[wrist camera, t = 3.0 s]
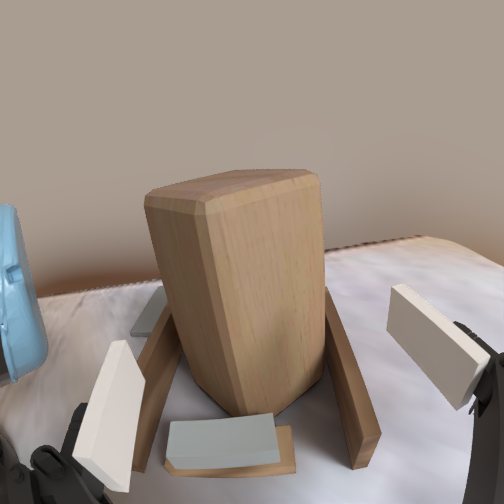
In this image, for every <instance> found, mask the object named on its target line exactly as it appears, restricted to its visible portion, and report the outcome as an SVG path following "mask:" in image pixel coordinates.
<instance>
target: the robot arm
mask: <svg viewBox="0 0 504 504" xmlns="http://www.w3.org/2000/svg"><path fill="white" fill-rule="evenodd" d="M386 330H387V331H388V333H389V334H390V335H391V336H392V337H393V338H394V339H395V340H396V341H397V342H398V344H399V345H400V346H401V347H402V348H403V349H404V350H405V351H406V353H407V354H408V355H409V356H410V357H411V358H412V359H413V360H414V362H415V363H416V364H417V365H418V366H419V367H420V368H421V370H422V371H423V372H424V373H425V374H426V375H427V377H428V378H429V379H430V380H431V381H432V382H433V384H434V385H435V386H436V387H437V388H438V389H439V391H440V392H441V393H442V394H443V395H444V397H445V398H446V399H447V400H448V401H449V403H450V404H451V405H452V406H453V408H454V409H455V410H456V411H457V410H458V409H460V408H461V407H463V406H464V405H466V404H467V403H468V402H469V400H470V399H471V397H472V395H473V394H474V395H475V396H476V397H477V398H476V399H475V401H474V403H473V405H472V407H471V408H470V410H469V413H468V414H471V413H472V411H473V409H474V414H473V415H474V428H473V441H472V451H471V459H470V466H469V473H468V479H467V484H466V489H465V494H464V499H463V503H462V504H504V352H503V353H500V354H498V353H497V352H496V351H494V350H493V349H492V348H491V347H490V346H489V345H488V344H486V343H485V342H484V341H483V340H482V339H481V338H479V337H477V335H476V334H475V333H472V331H471V330H470V329H469V328H467V327H466V326H465V325H463V324H461V323H458V322H456V321H455V322H453V323H452V322H451V321H450V320H449V319H447V318H446V317H445V316H444V315H443V314H441V313H440V312H439V311H438V310H436V309H435V308H434V307H433V306H431V305H430V304H429V303H428V302H426V301H425V300H424V299H423V298H421V297H420V296H419V295H418V294H416V293H415V292H414V291H412V290H411V289H410V288H409V287H407V286H406V285H405V284H403V283H402V284H399V285H395V286H392V287H391V296H390V306H389V314H388V322H387V329H386ZM47 353H48V339H47V335H46V331H45V327H44V323H43V319H42V316H41V312H40V308H39V304H38V301H37V297H36V293H35V289H34V285H33V281H32V277H31V273H30V268H29V264H28V260H27V255H26V250H25V245H24V240H23V236H22V231H21V226H20V222H19V218H18V216H17V210H16V208H15V207H14V206H13V205H11V204H8V205H4V204H0V387H3V386H5V385H8V384H10V383H16V382H17V380H18V378H20V377H22V376H23V375H25V374H27V373H29V372H31V371H33V370H35V369H36V368H38V367H40V366H41V365H42V364H43V363H44V361H45V360H46V357H47ZM144 386H145V379H144V377H143V375H142V373H141V371H140V369H139V367H138V365H137V363H136V360H135V358H134V356H133V354H132V352H131V350H130V347H129V345H128V343H127V341H126V340H118V341H112V343H111V345H110V348H109V350H108V353H107V355H106V357H105V360H104V363H103V365H102V368H101V370H100V373H99V376H98V378H97V381H96V384H95V386H94V389H93V392H92V395H91V397H90V400H89V403H81V404H80V405H79V406H78V407H77V409H76V410H75V411H74V413H73V416H72V419H71V423H70V425H69V428H68V429H69V430H67V433H66V436H65V439H64V443H63V446H62V449H61V452H60V453H59V452H58V451H57V450H56V449H55V448H54V447H52V446H50V445H43V446H40V447H38V448H37V449H36V450H35V451H34V452H33V454H32V455H31V459H30V463H31V467H33V468H34V469H35V470H30V469H29V468H27V467H26V466H25V465H23V464H21V463H19V461H18V458H17V455H16V453H15V451H14V449H13V447H12V446H11V445H10V444H9V442H8V441H7V440H6V439H5V438H4V437H3V436H2V435H1V434H0V504H113V503H112V502H111V500H110V499H109V498H108V496H107V495H106V494H105V493H104V492H103V489H104V485H105V486H106V487H107V488H109V489H110V490H111V491H118V492H129V485H130V476H131V467H132V459H133V452H134V445H135V438H136V431H137V425H138V419H139V413H140V407H141V402H142V396H143V391H144Z"/></svg>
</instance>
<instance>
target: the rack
mask: <svg viewBox="0 0 504 504" xmlns="http://www.w3.org/2000/svg"><path fill="white" fill-rule="evenodd" d="M182 350H183V347H182V344H181V341H180V338H179V335H178V332H177V329H176V326H175V323H174V319H173V316H172V313H171V310H170V306H169V303H168V302H167V303H166V305H165V307H164V309H163V311H162V313H161V315H160V317H159V319H158V321H157V322H156V324H155V326H154V328H153V330H152V332H151V334H150V336H149V338H148V340H147V342H146V344H145V346H144V348H143V350H142V352H141V354H140V356H139V358H138V360H137V362H136V363H137V365H138V367H139V369H140V371H141V373H142V375H143V377H144V379H145V386H144V391H143V396H142V402H141V407H140V413H139V419H138V425H137V431H136V438H135V445H134V452H133V459H132V467H131V470H133V471H138V472H143V473H144V471H145V468H146V464H147V461H148V457H149V454H150V451H151V447H152V444H153V441H154V437H155V434H156V431H157V427H158V424H159V421H160V418H161V414H162V411H163V408H164V405H165V402H166V399H167V395H168V392H169V389H170V386H171V383H172V380H173V377H174V374H175V371H176V368H177V365H178V362H179V359H180V356H181V353H182ZM325 356H326V360H327V363H328V367H329V371H330V375H331V379H332V383H333V387H334V391H335V395H336V399H337V403H338V407H339V412H340V416H341V420H342V425H343V429H344V433H345V438H346V442H347V447H348V452H349V456H350V461H351V466H352V470H355V469H360V468H364V467H367V466H368V464H369V462H370V460H371V457H372V455H373V453H374V451H375V448H376V446H377V444H378V441H379V439H380V436H381V434H382V433H381V430H380V427H379V424H378V421H377V418H376V415H375V412H374V409H373V406H372V403H371V400H370V397H369V394H368V392H367V389H366V386H365V383H364V380H363V378H362V375H361V372H360V369H359V367H358V364H357V361H356V359H355V356H354V353H353V351H352V348H351V345H350V343H349V340H348V338H347V335H346V333H345V330H344V327H343V325H342V322H341V320H340V317H339V315H338V313H337V310H336V308H335V305H334V303H333V300H332V298H331V295H330V293H329V291H328V288H327V286H326V287H325Z"/></svg>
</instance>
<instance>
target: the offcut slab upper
mask: <svg viewBox="0 0 504 504" xmlns="http://www.w3.org/2000/svg"><path fill="white" fill-rule="evenodd" d="M166 458H167V459H168V460H169V461H170V463H171V464H172V465H173V466H174V468H175V469H218V468H234V467H246V466H255V465H264V464H271V463H278V462H281V460H280V453H279V447H278V441H277V435H276V429H275V423H274V417H273V413H267V414H260V415H252V416H244V417H235V418H225V419H212V420H195V421H171V423H170V430H169V437H168V444H167V451H166Z"/></svg>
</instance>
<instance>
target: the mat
mask: <svg viewBox="0 0 504 504" xmlns="http://www.w3.org/2000/svg"><path fill="white" fill-rule="evenodd" d="M167 302H168V300H167V296H166V293H165V289H164V286H159V287H158V288H157V290H156V291H155V293H154V294H153V296H152V298H151V299H150V301H149V302H148V304H147V306H146V307H145V309H144V310H143V312H142V314H141V315H140V317H139V319H138V320H137V322H136V323H135V325H134V327H133V328H132V330H131V332H130V334H131V336H150V334H151V332H152V330H153V328H154V326H155V324H156V322H157V321H158V319H159V317H160V315H161V313H162V311H163V309H164V307H165V305H166V303H167Z"/></svg>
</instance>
